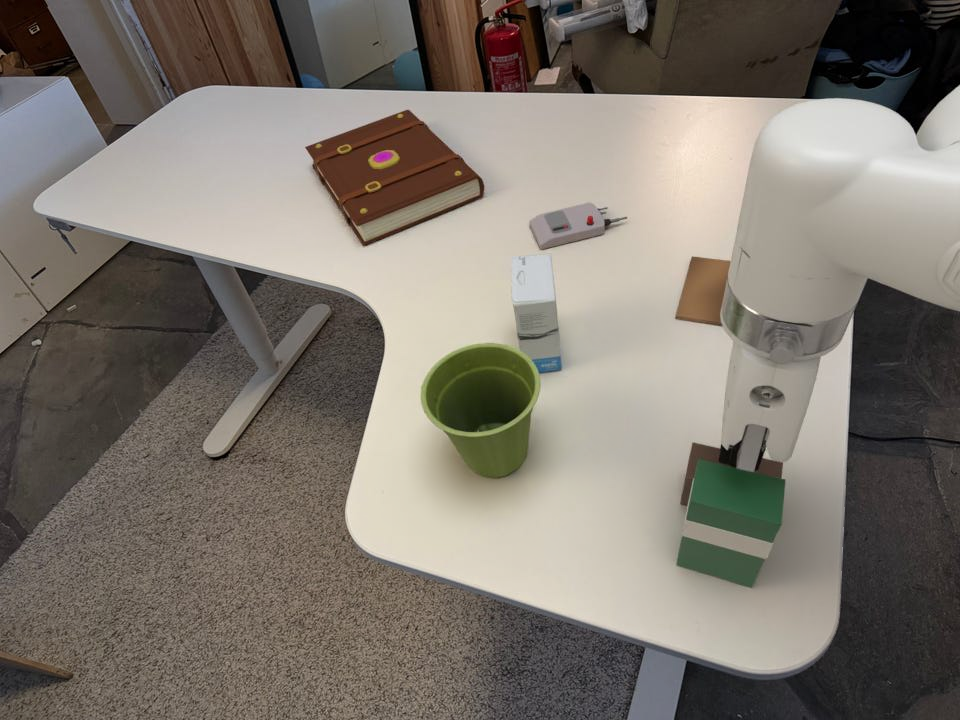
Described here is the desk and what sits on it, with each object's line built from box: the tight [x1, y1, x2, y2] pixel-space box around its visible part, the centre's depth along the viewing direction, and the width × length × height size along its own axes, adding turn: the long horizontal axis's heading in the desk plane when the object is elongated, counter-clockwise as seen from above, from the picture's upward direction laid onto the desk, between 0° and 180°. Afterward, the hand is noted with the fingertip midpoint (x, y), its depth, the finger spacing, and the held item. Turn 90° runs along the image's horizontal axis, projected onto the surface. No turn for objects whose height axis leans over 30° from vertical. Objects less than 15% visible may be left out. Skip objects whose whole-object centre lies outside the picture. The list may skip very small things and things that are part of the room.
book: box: [304, 109, 485, 247], centre depth 108 cm, size 23×32×5 cm
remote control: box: [528, 202, 628, 251], centre depth 91 cm, size 7×16×3 cm, turn 101°
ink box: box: [510, 252, 562, 374], centre depth 72 cm, size 8×5×12 cm, turn 179°
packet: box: [676, 459, 787, 589], centre depth 51 cm, size 9×7×12 cm
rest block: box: [679, 442, 784, 507], centre depth 57 cm, size 8×4×5 cm, turn 68°
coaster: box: [675, 256, 731, 327], centre depth 77 cm, size 12×12×1 cm
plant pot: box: [420, 342, 542, 479], centre depth 63 cm, size 12×12×11 cm
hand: (738, 459), depth 52 cm, fingers closed
